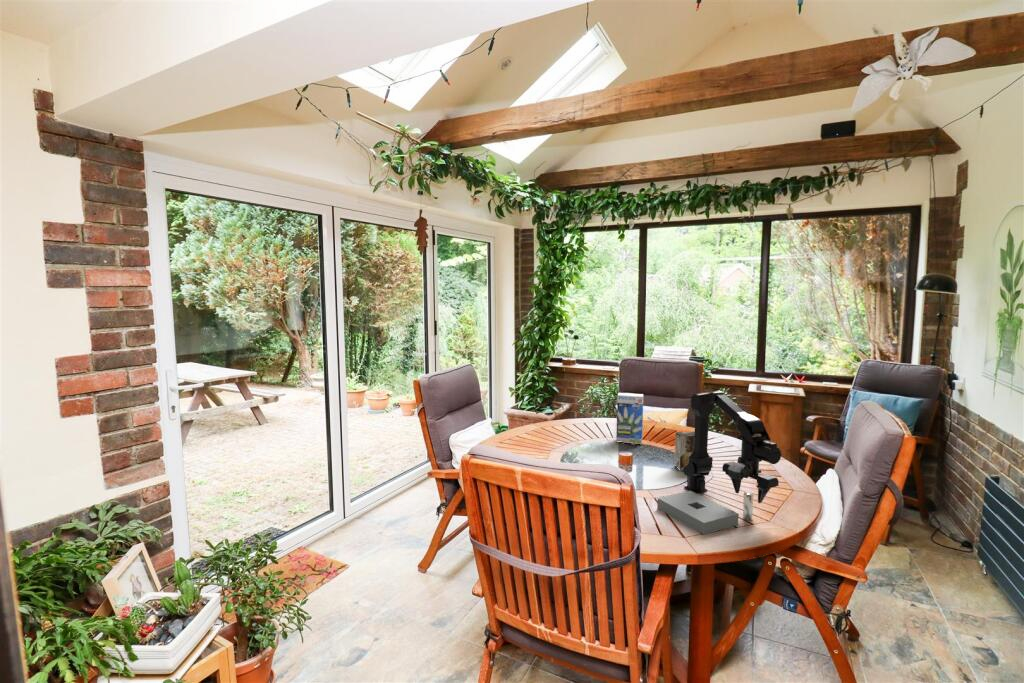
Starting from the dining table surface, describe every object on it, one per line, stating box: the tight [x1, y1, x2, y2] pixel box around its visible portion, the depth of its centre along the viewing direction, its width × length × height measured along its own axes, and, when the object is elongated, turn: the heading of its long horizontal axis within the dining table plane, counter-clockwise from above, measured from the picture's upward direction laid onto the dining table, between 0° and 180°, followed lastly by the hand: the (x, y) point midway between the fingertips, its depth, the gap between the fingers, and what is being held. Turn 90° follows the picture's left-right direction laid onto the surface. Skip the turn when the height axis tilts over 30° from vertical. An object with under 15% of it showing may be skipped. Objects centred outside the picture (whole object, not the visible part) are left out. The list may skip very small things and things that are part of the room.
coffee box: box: [674, 431, 695, 470], centre depth 225 cm, size 9×6×16 cm
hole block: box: [656, 490, 740, 535], centre depth 177 cm, size 22×16×4 cm
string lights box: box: [615, 392, 644, 444], centre depth 264 cm, size 13×8×26 cm, turn 73°
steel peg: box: [742, 491, 754, 521], centre depth 175 cm, size 3×3×9 cm
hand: (748, 497), depth 175 cm, fingers open, 9 cm apart
